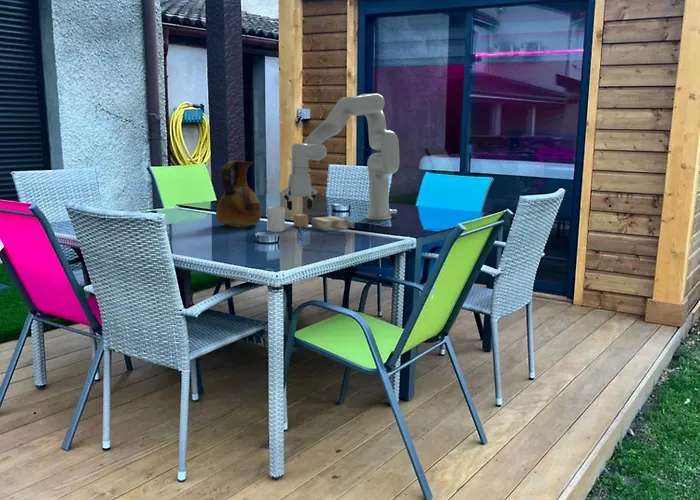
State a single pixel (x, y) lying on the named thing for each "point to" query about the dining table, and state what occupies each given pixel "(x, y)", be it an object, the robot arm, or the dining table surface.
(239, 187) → the ceramic pitcher
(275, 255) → the dining table surface
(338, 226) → the plinth
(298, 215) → the cube
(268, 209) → the white cup
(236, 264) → the dining table surface
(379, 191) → the robot arm
